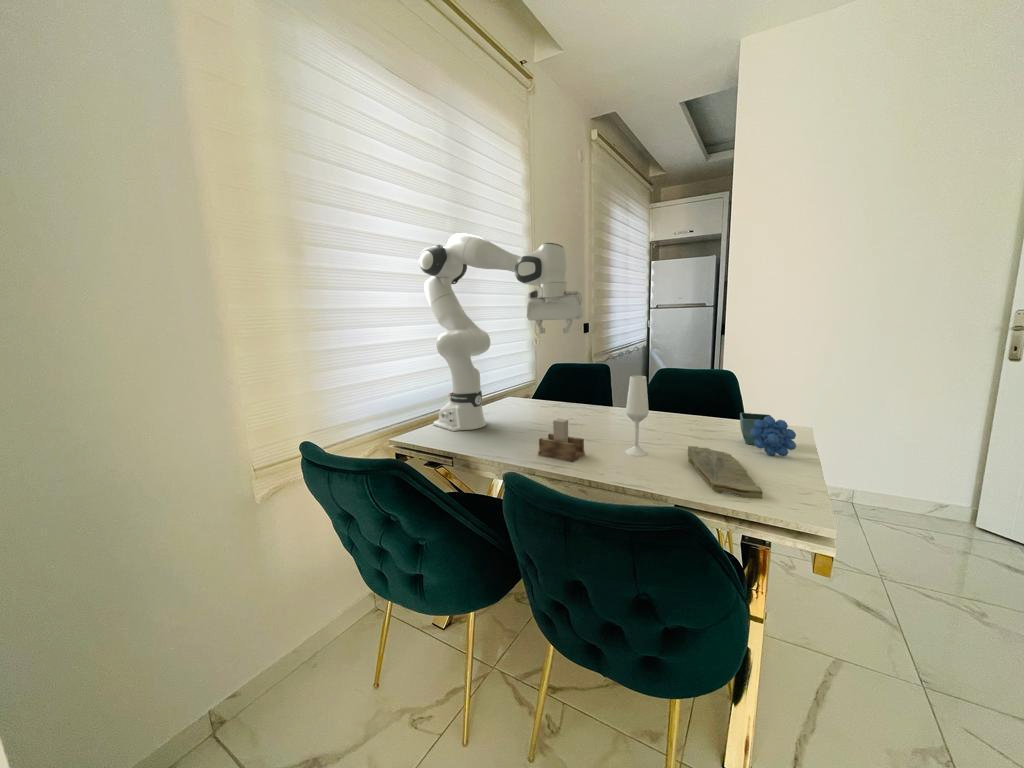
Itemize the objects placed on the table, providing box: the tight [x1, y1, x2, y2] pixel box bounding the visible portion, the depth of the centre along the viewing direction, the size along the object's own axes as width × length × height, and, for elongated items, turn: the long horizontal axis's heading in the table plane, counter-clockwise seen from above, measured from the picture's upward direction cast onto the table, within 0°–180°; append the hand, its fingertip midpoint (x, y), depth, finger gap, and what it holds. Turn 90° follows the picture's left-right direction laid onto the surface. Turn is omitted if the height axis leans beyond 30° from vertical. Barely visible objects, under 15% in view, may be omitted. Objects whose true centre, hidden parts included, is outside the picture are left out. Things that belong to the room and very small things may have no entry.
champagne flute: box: [625, 375, 650, 457], centre depth 121 cm, size 7×7×24 cm
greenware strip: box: [552, 418, 569, 443], centre depth 122 cm, size 4×3×10 cm
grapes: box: [750, 416, 797, 457], centre depth 115 cm, size 12×7×12 cm, turn 59°
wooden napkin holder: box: [537, 433, 585, 463], centre depth 123 cm, size 12×8×5 cm, turn 55°
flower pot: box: [739, 412, 772, 446], centre depth 128 cm, size 9×9×9 cm
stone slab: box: [687, 445, 763, 499], centre depth 106 cm, size 12×4×30 cm
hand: (554, 333), depth 136 cm, fingers open, 8 cm apart
